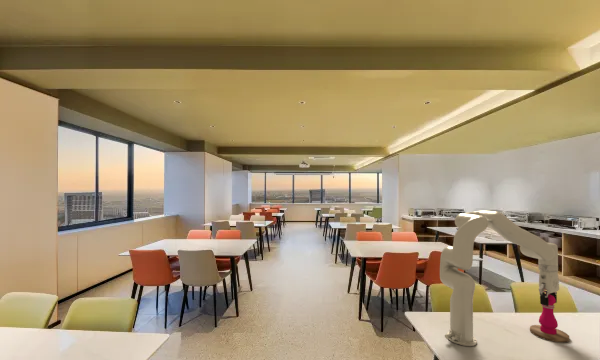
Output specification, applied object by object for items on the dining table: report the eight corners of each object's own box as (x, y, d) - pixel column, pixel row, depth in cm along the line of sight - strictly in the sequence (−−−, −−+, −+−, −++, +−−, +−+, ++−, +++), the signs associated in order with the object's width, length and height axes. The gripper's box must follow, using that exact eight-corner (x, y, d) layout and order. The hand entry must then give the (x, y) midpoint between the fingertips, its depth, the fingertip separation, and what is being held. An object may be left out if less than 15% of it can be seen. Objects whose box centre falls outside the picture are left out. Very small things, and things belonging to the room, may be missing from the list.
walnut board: (561, 345, 137) (561, 342, 137) (523, 331, 150) (523, 328, 150) (575, 338, 144) (575, 335, 144) (538, 325, 157) (538, 322, 157)
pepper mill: (561, 335, 143) (560, 293, 144) (544, 334, 144) (543, 292, 145) (551, 329, 150) (551, 289, 151) (535, 327, 151) (535, 287, 152)
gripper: (548, 271, 141) (549, 309, 140) (565, 267, 149) (565, 303, 149) (530, 268, 147) (530, 303, 147) (547, 264, 156) (547, 298, 155)
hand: (548, 303), depth 148 cm, fingers open, 8 cm apart
